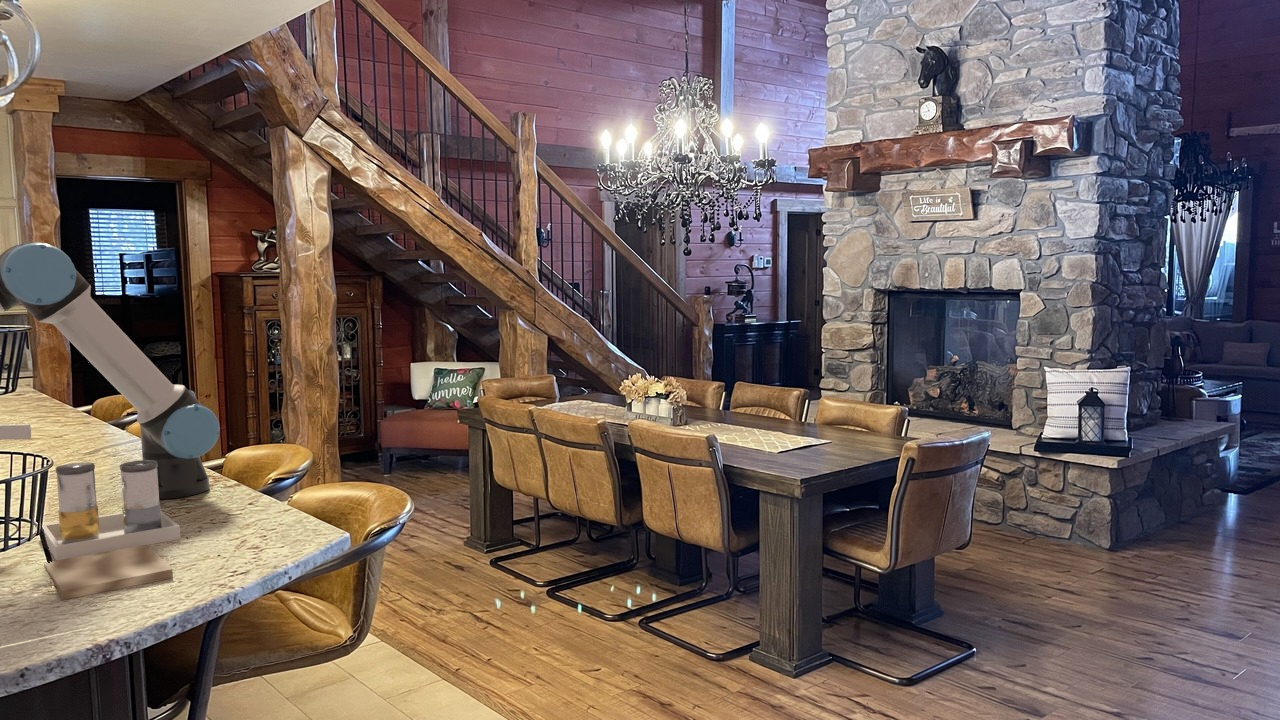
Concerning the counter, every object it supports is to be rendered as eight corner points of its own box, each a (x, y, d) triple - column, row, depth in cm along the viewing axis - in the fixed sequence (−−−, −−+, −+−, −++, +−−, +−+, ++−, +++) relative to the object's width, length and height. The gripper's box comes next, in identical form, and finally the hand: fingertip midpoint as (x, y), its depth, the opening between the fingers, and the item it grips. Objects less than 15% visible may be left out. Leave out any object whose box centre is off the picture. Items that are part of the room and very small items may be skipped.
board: (147, 552, 175) (146, 544, 175) (172, 577, 161) (172, 569, 161) (44, 571, 165) (44, 562, 165) (62, 600, 151) (61, 590, 151)
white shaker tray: (157, 524, 193) (156, 507, 193) (180, 544, 180) (179, 525, 179) (41, 543, 181) (40, 525, 180) (56, 566, 167) (55, 547, 167)
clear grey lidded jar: (157, 530, 186) (153, 458, 184) (165, 537, 181) (161, 464, 179) (121, 536, 182) (116, 463, 180) (128, 544, 177) (123, 469, 175)
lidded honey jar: (96, 533, 184) (91, 461, 182) (102, 540, 179) (97, 466, 177) (58, 539, 180) (52, 465, 178) (63, 547, 175) (58, 471, 174)
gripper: (-76, 448, 185) (44, 445, 188) (-162, 477, 160) (-22, 473, 164) (-79, 409, 184) (42, 407, 187) (-166, 432, 160) (-25, 429, 163)
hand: (12, 438), depth 176 cm, fingers open, 13 cm apart
